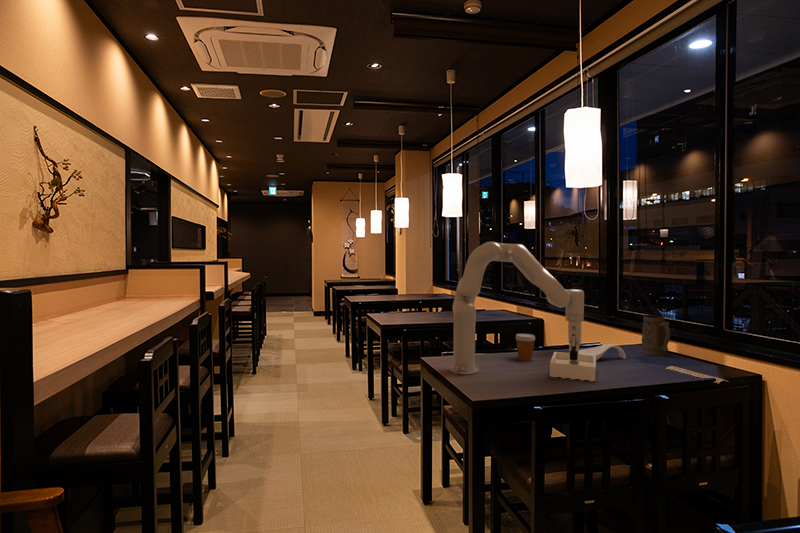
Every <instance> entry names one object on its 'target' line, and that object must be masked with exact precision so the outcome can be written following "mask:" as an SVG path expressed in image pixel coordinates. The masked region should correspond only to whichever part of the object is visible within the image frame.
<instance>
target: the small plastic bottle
mask: <svg viewBox="0 0 800 533" xmlns="http://www.w3.org/2000/svg"><path fill="white" fill-rule="evenodd" d="M571 344H572V342H571ZM575 344H576V342H575ZM568 346H569V347H568V348H569V349H568V350H569V351H568V353H569V363H570V364H575V365H576V364H579V350H580V345H579V344H577V351H578V360H570V344H569V343H568ZM575 346H576V345H575Z"/></svg>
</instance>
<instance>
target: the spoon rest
mask: <svg viewBox="0 0 800 533" xmlns="http://www.w3.org/2000/svg"><path fill="white" fill-rule="evenodd" d="M611 348H614V349H616V350H617V351H618V357H619V358H620V359H622V358H623V359H622V360H626V353H625V351H624V349H623V348H622V347H620V346H618V345H615V344H611V343H608V344H607V343H606V344H602V345H599V346H594V347H589V348H584V349H579V354H584V355H595V356H596V361H597V360H599V359H601V358H602V357H603V355H604V354H605V353H606V352H607V351H608V350H609V349H611Z"/></svg>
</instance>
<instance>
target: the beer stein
mask: <svg viewBox="0 0 800 533" xmlns="http://www.w3.org/2000/svg"><path fill="white" fill-rule="evenodd" d="M642 319H643V326H642V330H641V353H642V354H644V355H648V356H653V357H654V356H655V357H662V356H665V355H666V352H668V351H669V347H668V344H669V343H670V339H671V333H672V332H671V327H670V322H668V321H666V317H665V316H661V315H657V314H645V315H643V318H642Z"/></svg>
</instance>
